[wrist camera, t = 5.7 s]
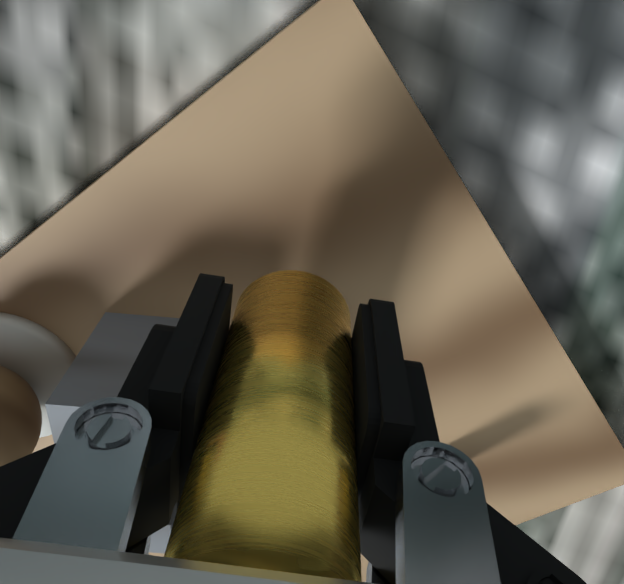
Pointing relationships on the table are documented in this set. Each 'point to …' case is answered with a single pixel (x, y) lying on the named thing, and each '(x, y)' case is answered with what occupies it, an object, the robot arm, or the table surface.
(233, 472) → the lever
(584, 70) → the table surface
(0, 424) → the walnut ball
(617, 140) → the table surface
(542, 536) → the table surface
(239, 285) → the base
